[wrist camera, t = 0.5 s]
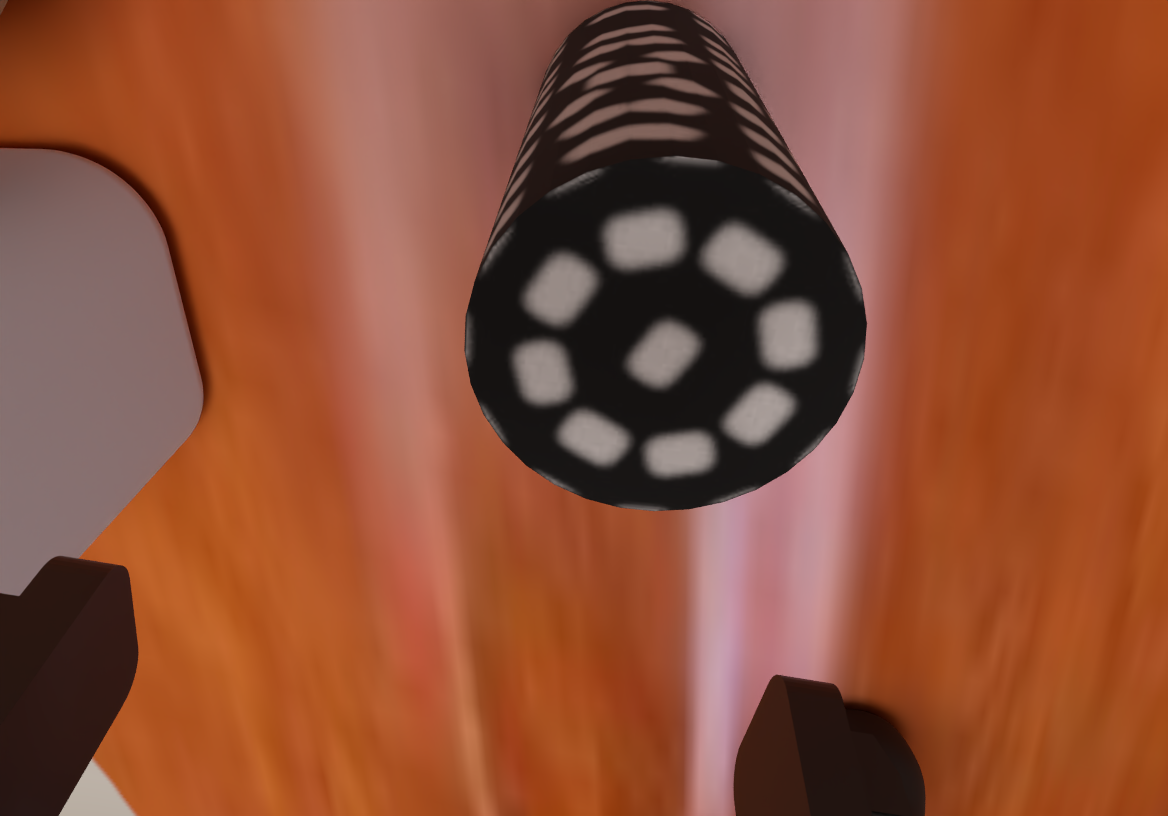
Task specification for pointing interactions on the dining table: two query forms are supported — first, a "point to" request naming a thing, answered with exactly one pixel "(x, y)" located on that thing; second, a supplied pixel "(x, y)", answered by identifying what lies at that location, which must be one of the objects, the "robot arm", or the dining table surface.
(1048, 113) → the dining table surface
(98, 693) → the robot arm
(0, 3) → the planter bowl
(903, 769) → the cola bottle
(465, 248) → the dining table surface
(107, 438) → the plastic bottle
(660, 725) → the dining table surface
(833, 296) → the spotted tube
